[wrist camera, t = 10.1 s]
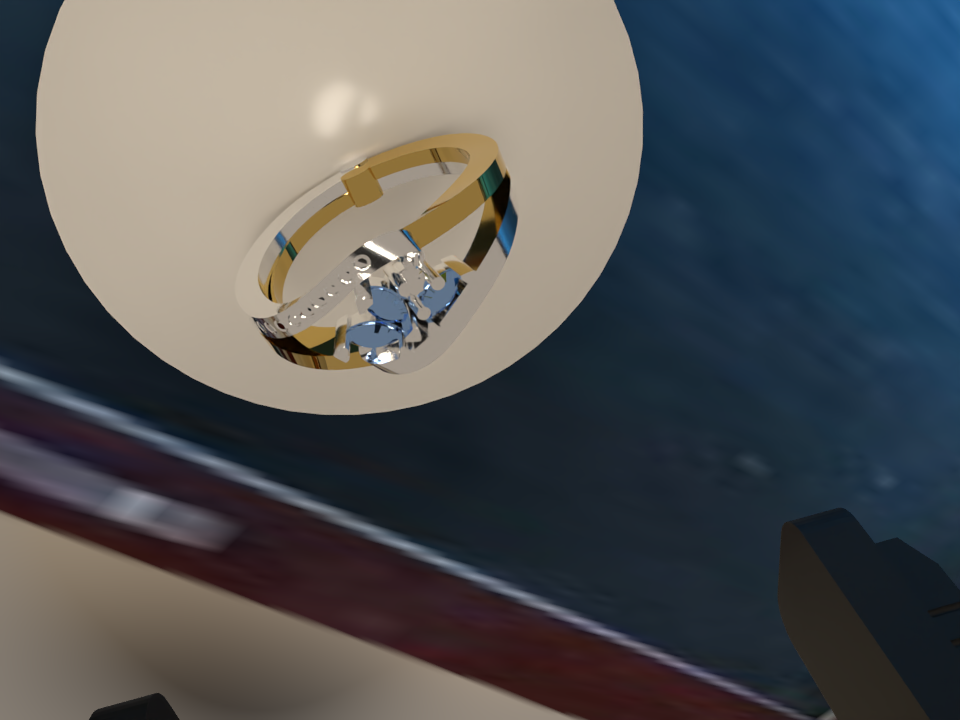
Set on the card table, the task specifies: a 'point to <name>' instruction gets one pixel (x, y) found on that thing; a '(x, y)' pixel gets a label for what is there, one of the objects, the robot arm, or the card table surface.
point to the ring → (386, 261)
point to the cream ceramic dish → (329, 166)
